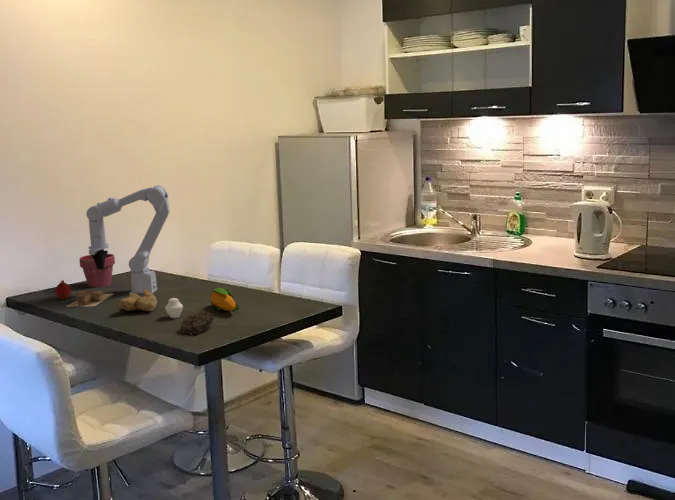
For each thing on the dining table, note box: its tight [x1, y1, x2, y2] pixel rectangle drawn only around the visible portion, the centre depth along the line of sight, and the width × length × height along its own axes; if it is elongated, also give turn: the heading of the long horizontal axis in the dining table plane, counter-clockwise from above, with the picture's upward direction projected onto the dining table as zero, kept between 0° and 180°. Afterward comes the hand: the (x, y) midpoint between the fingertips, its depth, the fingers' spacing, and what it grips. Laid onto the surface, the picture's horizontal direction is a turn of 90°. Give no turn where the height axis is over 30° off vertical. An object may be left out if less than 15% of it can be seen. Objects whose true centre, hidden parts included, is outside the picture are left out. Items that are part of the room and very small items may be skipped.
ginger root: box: [118, 289, 158, 312], centre depth 269 cm, size 16×16×8 cm
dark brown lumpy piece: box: [180, 311, 215, 335], centre depth 242 cm, size 12×10×5 cm
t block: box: [76, 290, 104, 305], centre depth 281 cm, size 9×8×4 cm
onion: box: [54, 280, 72, 300], centre depth 288 cm, size 6×6×8 cm
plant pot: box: [79, 253, 116, 288], centre depth 310 cm, size 14×14×13 cm
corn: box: [209, 287, 239, 313], centre depth 265 cm, size 7×8×20 cm
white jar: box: [164, 297, 184, 319], centre depth 258 cm, size 6×6×7 cm
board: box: [67, 293, 114, 307], centre depth 285 cm, size 11×19×1 cm, turn 174°
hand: (100, 269), depth 294 cm, fingers closed
